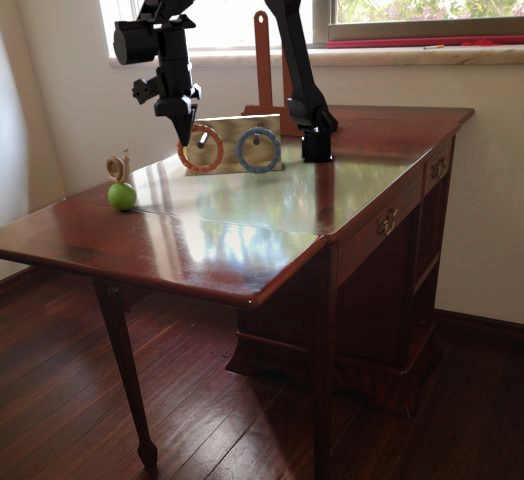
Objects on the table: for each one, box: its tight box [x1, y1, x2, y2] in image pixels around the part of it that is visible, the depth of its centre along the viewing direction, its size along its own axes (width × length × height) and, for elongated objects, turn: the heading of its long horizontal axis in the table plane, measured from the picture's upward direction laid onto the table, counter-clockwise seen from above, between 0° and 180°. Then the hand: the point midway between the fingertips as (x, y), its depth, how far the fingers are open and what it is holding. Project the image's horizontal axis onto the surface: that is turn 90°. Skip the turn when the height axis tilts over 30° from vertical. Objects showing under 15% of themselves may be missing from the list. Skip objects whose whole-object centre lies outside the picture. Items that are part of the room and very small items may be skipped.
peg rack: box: [185, 114, 283, 176], centre depth 122 cm, size 22×17×11 cm
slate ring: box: [236, 128, 282, 175], centre depth 117 cm, size 9×1×9 cm, turn 88°
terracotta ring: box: [176, 125, 224, 173], centre depth 112 cm, size 9×1×9 cm, turn 87°
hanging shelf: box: [240, 10, 304, 138], centre depth 152 cm, size 24×13×30 cm, turn 58°
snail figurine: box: [105, 148, 137, 212], centre depth 107 cm, size 5×6×12 cm
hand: (185, 145), depth 112 cm, fingers closed on terracotta ring, 1 cm apart
